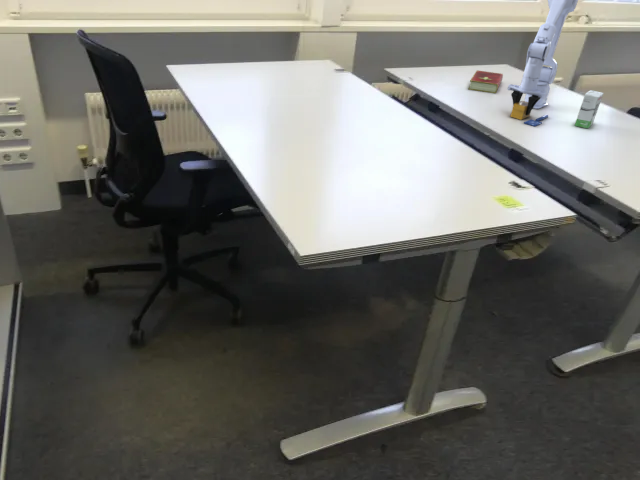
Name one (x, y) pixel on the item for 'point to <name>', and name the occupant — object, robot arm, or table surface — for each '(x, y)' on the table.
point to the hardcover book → (485, 81)
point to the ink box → (589, 109)
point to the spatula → (535, 121)
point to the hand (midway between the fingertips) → (520, 112)
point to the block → (520, 110)
